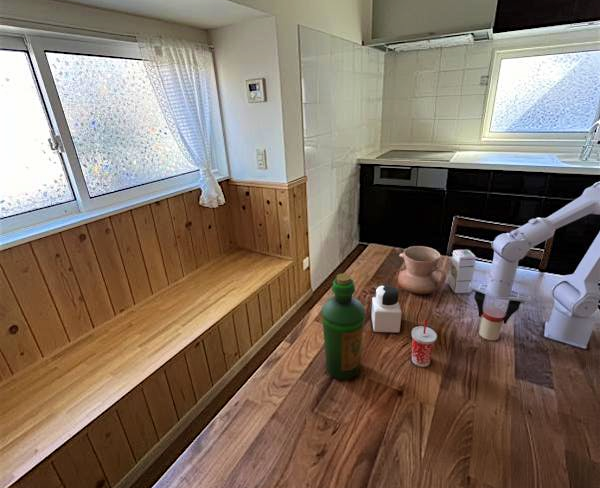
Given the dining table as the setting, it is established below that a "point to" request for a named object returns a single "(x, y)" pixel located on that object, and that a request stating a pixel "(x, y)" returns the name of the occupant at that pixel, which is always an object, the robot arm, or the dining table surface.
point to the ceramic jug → (421, 270)
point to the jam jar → (490, 329)
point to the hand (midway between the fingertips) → (492, 318)
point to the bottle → (343, 329)
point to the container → (386, 310)
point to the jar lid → (493, 314)
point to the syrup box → (462, 270)
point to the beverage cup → (422, 344)
